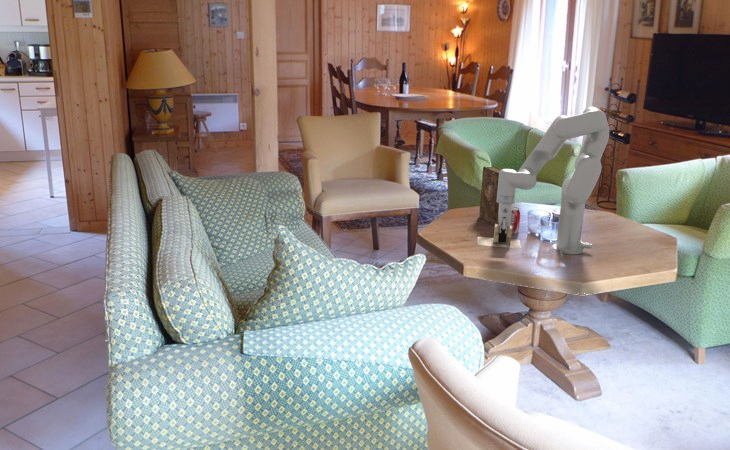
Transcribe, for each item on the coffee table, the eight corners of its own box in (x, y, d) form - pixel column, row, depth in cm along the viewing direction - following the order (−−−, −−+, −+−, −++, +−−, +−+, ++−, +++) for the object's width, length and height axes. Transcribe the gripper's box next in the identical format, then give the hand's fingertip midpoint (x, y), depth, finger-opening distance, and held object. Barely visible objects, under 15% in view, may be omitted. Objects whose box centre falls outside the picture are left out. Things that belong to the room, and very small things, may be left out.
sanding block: (510, 241, 295) (511, 225, 293) (510, 244, 291) (512, 228, 289) (493, 239, 296) (494, 224, 294) (493, 242, 292) (495, 227, 290)
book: (505, 225, 324) (510, 172, 317) (495, 225, 322) (499, 173, 315) (489, 215, 339) (493, 165, 332) (479, 216, 337) (483, 166, 330)
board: (519, 242, 298) (519, 239, 298) (520, 251, 287) (521, 248, 287) (477, 239, 301) (477, 236, 301) (477, 247, 290) (477, 245, 289)
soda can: (521, 235, 308) (524, 209, 305) (508, 236, 306) (510, 210, 302) (512, 231, 315) (515, 205, 311) (499, 232, 312) (501, 206, 309)
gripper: (515, 204, 279) (511, 247, 285) (514, 194, 295) (510, 235, 301) (497, 203, 281) (493, 245, 286) (496, 193, 297) (492, 233, 302)
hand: (501, 239), depth 293 cm, fingers closed on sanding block, 4 cm apart
